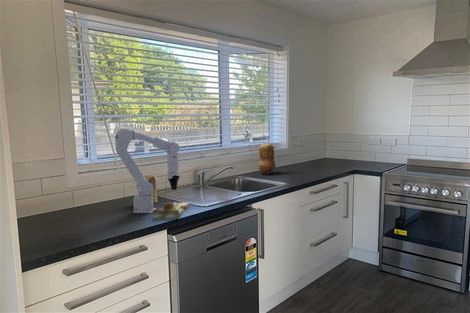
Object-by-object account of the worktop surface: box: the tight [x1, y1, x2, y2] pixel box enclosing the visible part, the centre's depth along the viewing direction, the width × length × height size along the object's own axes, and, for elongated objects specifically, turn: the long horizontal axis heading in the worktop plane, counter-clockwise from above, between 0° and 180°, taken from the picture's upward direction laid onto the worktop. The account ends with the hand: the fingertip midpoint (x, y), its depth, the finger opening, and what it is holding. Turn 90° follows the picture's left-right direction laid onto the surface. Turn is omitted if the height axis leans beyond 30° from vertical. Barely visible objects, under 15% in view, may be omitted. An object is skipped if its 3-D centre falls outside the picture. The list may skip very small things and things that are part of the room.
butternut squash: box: [258, 142, 276, 175], centre depth 280 cm, size 14×13×25 cm
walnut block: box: [163, 201, 175, 210], centre depth 172 cm, size 4×4×4 cm
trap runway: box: [153, 202, 190, 219], centre depth 177 cm, size 12×22×4 cm, turn 175°
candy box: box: [143, 175, 158, 204], centre depth 197 cm, size 9×4×15 cm, turn 96°
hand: (174, 189), depth 186 cm, fingers closed
